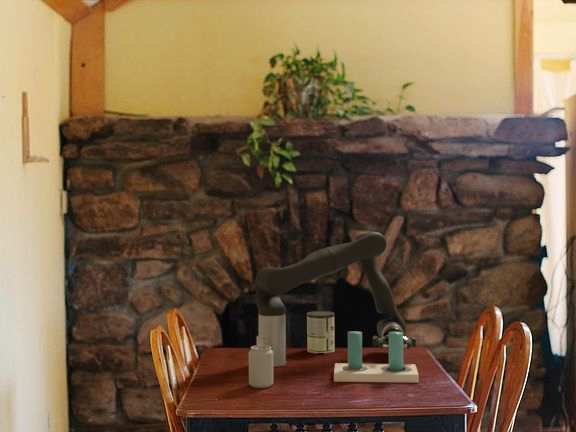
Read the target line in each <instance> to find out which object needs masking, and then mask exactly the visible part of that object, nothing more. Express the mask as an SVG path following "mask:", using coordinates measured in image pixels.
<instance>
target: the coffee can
mask: <svg viewBox="0 0 576 432" xmlns="http://www.w3.org/2000/svg"><path fill="white" fill-rule="evenodd" d="M306 333H307V334H306V335H307V336H306V338H307V346H306V347H307V350H306V351H307V353H311V354H318V353H324V354H331V353H334V352H335V312H334V311H328V310H315V311H308V312H306Z"/></svg>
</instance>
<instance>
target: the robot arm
mask: <svg viewBox="0 0 576 432" xmlns="http://www.w3.org/2000/svg"><path fill="white" fill-rule="evenodd" d="M387 244H388V241H387V239H386V237H385V236H384V235H383V234H382V233H381V232H378V231H377V232H376V231H370V232H364V233H360V234H358V235H357V236H356V237H355V239H354V240H353V241H350V242H347V243H341V244H335V245H332V246H328V247H323V248H321V249H318V250H316V251H315V250H314V252H311V253H309V254H307V256H305V257H304V258H303V259H301V260H300V261H298V262H297V263H294V264H291V265H287V266H283V267H274V266H264V267H262V268H261V269H259V271H257V273H256V276H255V283H254V284H255V302H256V304H255V305H256V307H257V310H258V335H257V336H256V346H257V345H266V346H270V347H271V350H272V351H273V368H275V367H276V368H277V367H282V366H285V365H286V364H287V361H286V360H287V343H286V342H287V341H286V339H287V333H286V332H287V331H286V329H287V327H286V322H287V321H286V313H287V312H286V305H285V304H284V302H282V299H281V295H283V294H285V293H287V292H289V291H291V290H292V289H294V288H296V287H298V286H300V285H302V284H304V283H305V284H306V283H307V282H311V281H315V280H317V279H319V278H323V277H326V276H328V275H331V274H333V273H335V272H338V271H340V270H343V269H345V268H347V267H348V266H351V265H353V264H356V263H357V262H360V265H361V267H362V270H363V272H364V274H365V277H366V279H367V282H368V284H369V286H370V290H371V293H372V298H373V301H374V304H375V309H376V312H377V313H378V314H390V315H391V316H393V317H388V318H385V319H381V320H378V322H377V324H376V330H377V334H378V336H377V335H373V336H372V347H377V346H378V348H380V349H383V348H388V349H389V332H402V333H403V348H406V349H407V350H410V348H412V347H413V348H416V347H417V339H416V337H415V336H414V335H410V337H409V338H407V336H405V334H406V331H407V324H406V322H405V320H404V318H403V317H402V315H401V314H400V312H399V310H398V308H397V305H396V303H395V299H394V296H393V295H394V294H393V291H392V289H391V286H390V285H389V282H388V281H387V279H386V278H385V276H384V274H383V273H382V271H381V269H380V268H379V266H378V263H377V262H378V261H377V257H380V256H381V255H382V254H384V252H385V250H386V249H387Z"/></svg>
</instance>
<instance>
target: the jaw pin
mask: <svg viewBox="0 0 576 432" xmlns="http://www.w3.org/2000/svg"><path fill="white" fill-rule="evenodd" d="M388 364H389V370H390V371H403V364H404V347H403V333H402V332H389V348H388Z"/></svg>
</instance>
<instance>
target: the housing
mask: <svg viewBox="0 0 576 432" xmlns="http://www.w3.org/2000/svg"><path fill="white" fill-rule="evenodd" d="M333 370H334V372H333V382H343V383H345V382H346V383H347V382H352V383H354V382H355V383H357V382H358V383H417V384H418V383H419V381H420V380H419V379H420V377H419V372H418V368H417V366H416V364H413V363H411V364H409V363H403V371H390V370H389V363H362V369H358V370H352V369H348V362H347V363H346V362H345V363H344V362H343V363H337V362H336V363H334V369H333Z"/></svg>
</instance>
